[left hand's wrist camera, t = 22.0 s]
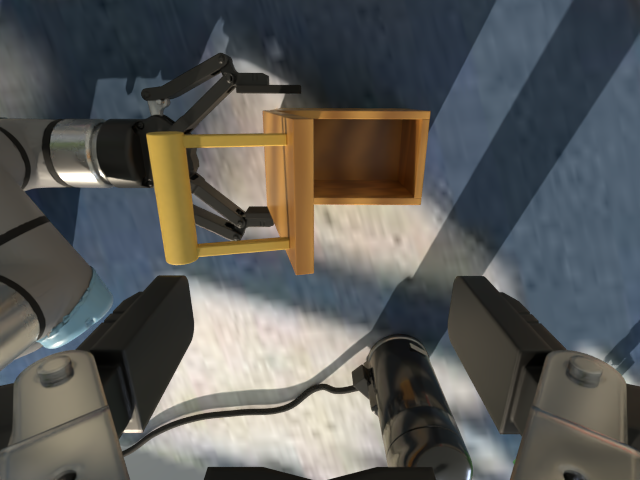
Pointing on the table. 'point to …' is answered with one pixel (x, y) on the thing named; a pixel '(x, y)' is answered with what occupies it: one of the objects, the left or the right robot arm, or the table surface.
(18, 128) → the right robot arm
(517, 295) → the table surface
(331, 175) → the chest
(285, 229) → the lid
